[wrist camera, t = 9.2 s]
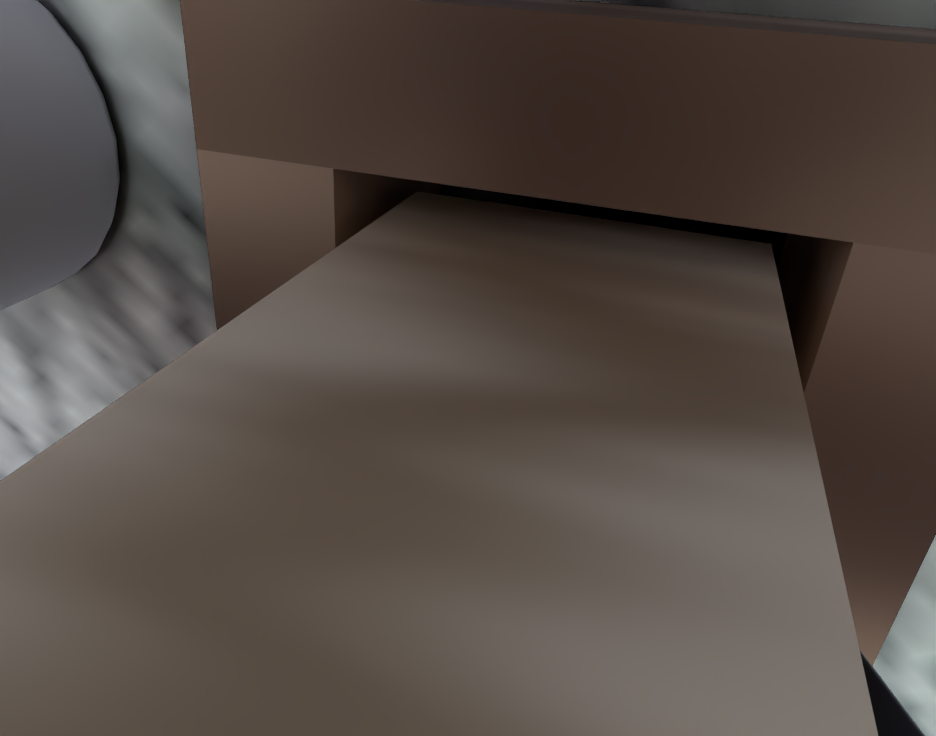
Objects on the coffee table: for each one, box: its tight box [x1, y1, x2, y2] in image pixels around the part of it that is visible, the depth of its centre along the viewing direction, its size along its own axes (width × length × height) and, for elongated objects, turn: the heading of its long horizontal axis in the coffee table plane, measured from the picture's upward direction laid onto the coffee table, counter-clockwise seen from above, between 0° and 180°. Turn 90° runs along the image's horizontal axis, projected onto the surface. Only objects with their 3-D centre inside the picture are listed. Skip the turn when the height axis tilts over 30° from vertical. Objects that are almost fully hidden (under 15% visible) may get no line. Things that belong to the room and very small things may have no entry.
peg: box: [0, 191, 878, 736], centre depth 7 cm, size 5×5×10 cm
